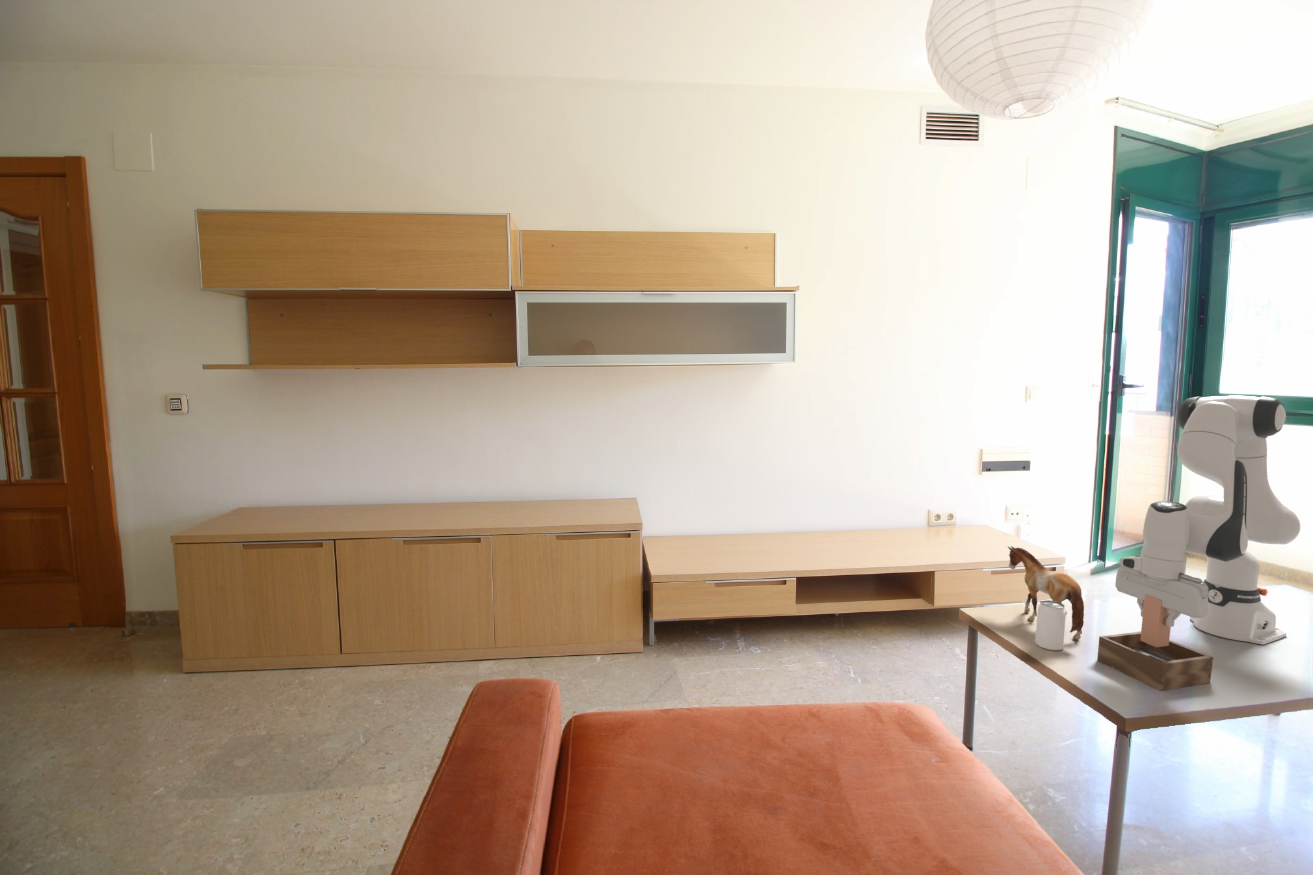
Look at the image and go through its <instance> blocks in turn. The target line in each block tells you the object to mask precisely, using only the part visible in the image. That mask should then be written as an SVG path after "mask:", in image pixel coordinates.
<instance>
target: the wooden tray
mask: <svg viewBox="0 0 1313 875" xmlns="http://www.w3.org/2000/svg"><path fill="white" fill-rule="evenodd" d="M1140 638H1141V631H1134V632H1125V633H1117V634H1116V633H1115V634H1108V635H1101V636H1099V637H1098V648H1097V649H1098V650H1097V660H1096V661H1098V662H1099V663H1101V662H1102V664H1104V665H1106V666H1108V667H1109V668H1112V669H1114V670H1116V671H1118V672H1121V673H1123V674H1124V673H1125V674H1124V675H1127V676H1128V677H1131V678H1133V679H1135V680H1137V681H1139V682H1142V683H1144V684H1145V685H1148V686H1150V687H1152V688H1154V689H1156V690H1157V691H1167V690H1171V689H1172V690H1174V689H1181V688H1186V687H1193V686H1199V685H1205V684H1211V678H1212V670H1213V664H1214V663H1213V661H1214V657H1213V656H1211V655H1208V654H1206V653H1203V652H1202V651H1199V650H1195V649H1194V648H1191V647H1188V646H1185V645H1183V644H1181V643H1179V642H1176V641H1173V640H1171V639H1169V646H1163V647H1154V646H1152V645H1150V644H1147V643H1145V642H1142V641H1140Z"/></svg>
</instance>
